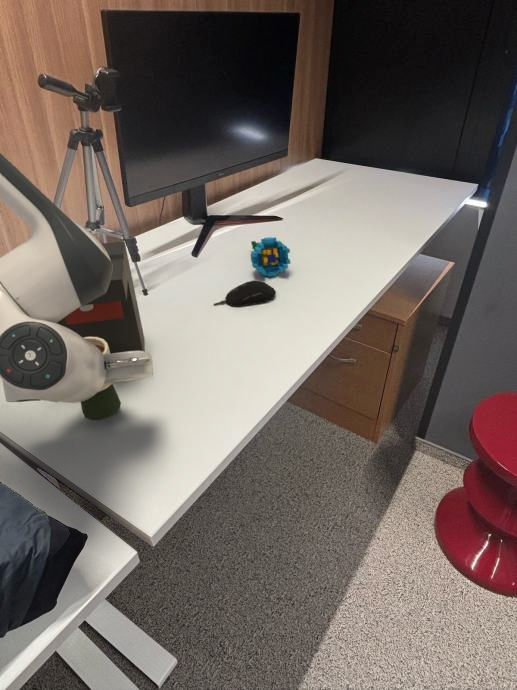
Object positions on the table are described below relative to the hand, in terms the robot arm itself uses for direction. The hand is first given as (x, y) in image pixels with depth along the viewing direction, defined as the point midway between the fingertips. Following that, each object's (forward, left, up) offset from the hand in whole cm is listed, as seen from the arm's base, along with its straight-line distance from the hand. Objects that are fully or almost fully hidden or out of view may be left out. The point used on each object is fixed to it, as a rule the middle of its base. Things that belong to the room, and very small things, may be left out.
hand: (93, 377), depth 78 cm
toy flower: (+38, +47, -9) cm, 61 cm away
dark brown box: (0, +14, -8) cm, 16 cm away
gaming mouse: (+30, +31, -9) cm, 44 cm away
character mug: (0, -1, -7) cm, 7 cm away
